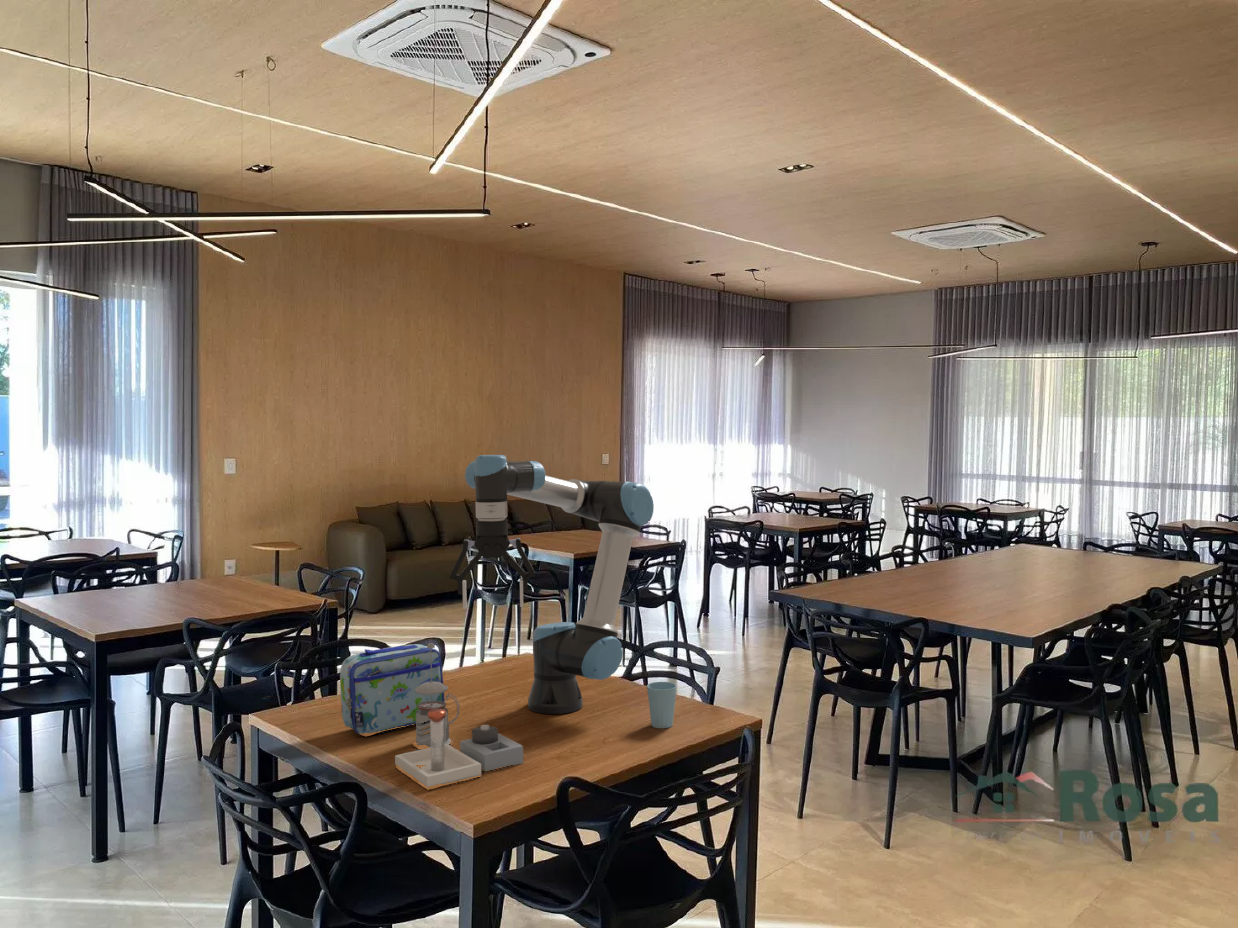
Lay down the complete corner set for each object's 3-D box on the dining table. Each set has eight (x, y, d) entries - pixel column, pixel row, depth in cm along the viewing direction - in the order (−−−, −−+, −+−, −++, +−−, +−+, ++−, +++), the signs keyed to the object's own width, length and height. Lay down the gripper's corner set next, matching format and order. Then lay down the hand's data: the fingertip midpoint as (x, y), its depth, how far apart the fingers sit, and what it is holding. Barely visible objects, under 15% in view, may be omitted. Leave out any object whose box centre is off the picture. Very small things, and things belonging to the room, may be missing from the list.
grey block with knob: (460, 757, 226) (459, 726, 226) (497, 749, 232) (497, 718, 232) (484, 772, 217) (484, 740, 216) (523, 762, 223) (522, 731, 222)
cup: (682, 727, 248) (681, 687, 247) (655, 731, 245) (655, 690, 244) (668, 719, 255) (668, 680, 254) (642, 723, 252) (642, 683, 251)
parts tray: (395, 768, 220) (395, 755, 220) (446, 756, 228) (446, 743, 227) (427, 790, 206) (427, 776, 206) (481, 777, 214) (481, 763, 214)
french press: (417, 737, 242) (415, 638, 241) (463, 737, 242) (461, 638, 240) (407, 750, 232) (405, 647, 231) (455, 750, 232) (453, 647, 231)
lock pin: (425, 768, 217) (424, 710, 217) (441, 764, 220) (441, 707, 219) (433, 773, 214) (432, 715, 213) (449, 769, 216) (449, 711, 216)
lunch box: (352, 742, 238) (350, 658, 237) (337, 731, 247) (335, 650, 246) (448, 722, 254) (446, 643, 253) (430, 712, 262) (429, 636, 261)
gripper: (437, 522, 225) (439, 611, 226) (544, 519, 228) (545, 608, 229) (440, 518, 233) (441, 605, 234) (543, 516, 236) (544, 602, 237)
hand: (493, 607), depth 231 cm, fingers open, 13 cm apart
